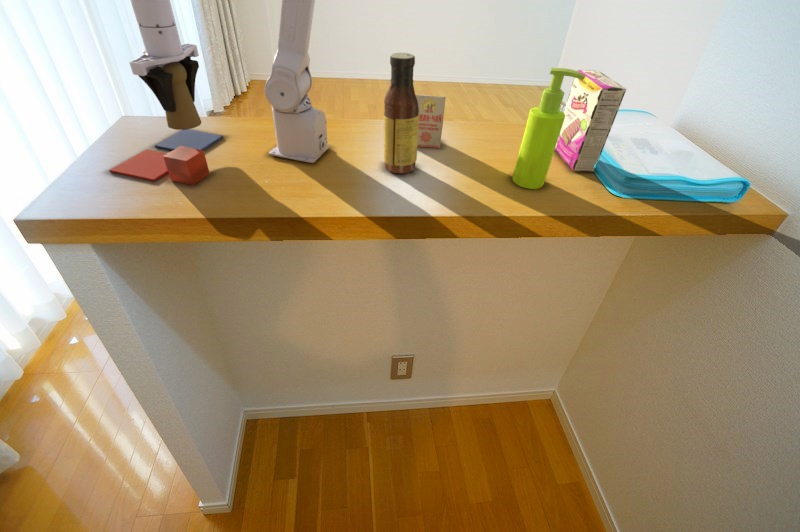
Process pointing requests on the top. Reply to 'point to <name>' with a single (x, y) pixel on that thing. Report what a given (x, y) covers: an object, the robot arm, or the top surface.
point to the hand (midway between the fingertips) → (180, 106)
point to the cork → (181, 100)
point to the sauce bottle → (401, 116)
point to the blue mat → (189, 140)
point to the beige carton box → (430, 120)
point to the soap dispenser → (542, 133)
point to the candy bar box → (588, 119)
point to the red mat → (143, 166)
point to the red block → (186, 165)
